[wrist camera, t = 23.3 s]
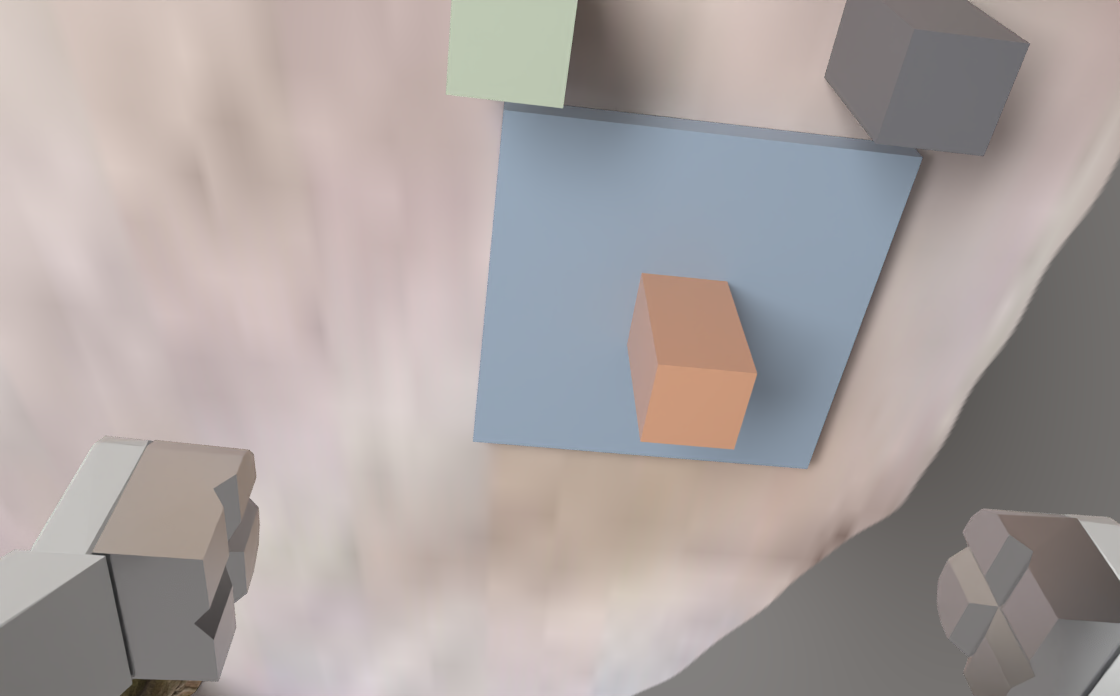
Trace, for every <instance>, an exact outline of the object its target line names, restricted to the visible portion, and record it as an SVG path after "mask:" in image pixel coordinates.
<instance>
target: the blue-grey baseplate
mask: <svg viewBox="0 0 1120 696" xmlns="http://www.w3.org/2000/svg"><path fill="white" fill-rule="evenodd" d="M922 158H923V157H922V156H921V155H920V154H919V152H918V151H917V150H916V149H915V148H909V147H900V146H891V145H883V144H875V142H874V141H871V140H863V139H854V138H845V137H836V136H828V135H819V134H810V133H801V132H793V131H784V130H775V129H766V128H758V127H749V126H740V125H731V124H723V123H714V122H705V121H696V120H688V119H679V118H670V117H661V116H653V115H644V114H635V113H626V112H618V111H609V110H600V109H591V108H583V107H574V106H565V105H563V108H555V107H547V106H539V105H530V104H522V103H513V102H505V101H504V112H503V123H502V134H501V145H500V156H499V166H498V177H497V188H496V199H495V210H494V220H493V231H492V242H491V253H490V264H489V274H488V285H487V296H486V307H485V318H484V329H483V339H482V350H481V361H480V372H479V383H478V393H477V404H476V415H475V426H474V437H473V442H485V443H497V444H509V445H522V446H534V447H546V448H558V449H570V450H583V451H595V452H607V453H619V454H631V455H644V456H656V457H668V458H680V459H692V460H705V461H717V462H729V463H741V464H753V465H766V466H778V467H790V468H802V469H807V468H808V465H809V463H810V460H811V457H812V455H813V452H814V449H815V446H816V444H817V441H818V438H819V436H820V433H821V430H822V428H823V425H824V422H825V420H826V417H827V414H828V411H829V409H830V406H831V403H832V401H833V398H834V395H835V393H836V390H837V387H838V384H839V382H840V379H841V376H842V374H843V371H844V368H845V366H846V363H847V360H848V358H849V355H850V352H851V349H852V347H853V344H854V341H855V339H856V336H857V333H858V331H859V328H860V325H861V323H862V320H863V317H864V314H865V312H866V309H867V306H868V304H869V301H870V298H871V296H872V293H873V290H874V288H875V285H876V282H877V279H878V277H879V274H880V271H881V269H882V266H883V263H884V261H885V258H886V255H887V253H888V250H889V247H890V244H891V242H892V239H893V236H894V234H895V231H896V228H897V226H898V223H899V220H900V218H901V215H902V212H903V209H904V207H905V204H906V201H907V199H908V196H909V193H910V191H911V188H912V185H913V183H914V180H915V177H916V174H917V172H918V169H919V166H920V164H921V161H922ZM641 273H648V274H658V275H668V276H678V277H688V278H698V279H708V280H718V281H727V282H728V285H729V288H730V291H731V294H732V297H733V300H734V304H735V307H736V310H737V313H738V316H739V319H740V322H741V325H742V328H743V331H744V334H745V337H746V340H747V343H748V346H749V349H750V352H751V355H752V359H753V362H754V365H755V368H756V371H757V376H756V380H755V383H754V386H753V389H752V393H751V396H750V399H749V402H748V406H747V409H746V412H745V415H744V419H743V422H742V425H741V428H740V432H739V435H738V438H737V442H736V445H735V448H734V450H733V449H721V448H709V447H697V446H686V445H674V444H662V443H650V442H640V436H639V428H638V421H637V414H636V407H635V399H634V392H633V385H632V378H631V370H630V363H629V356H628V349H627V342H628V337H629V332H630V327H631V322H632V317H633V312H634V307H635V302H636V298H637V293H638V288H639V283H640V278H641Z"/></svg>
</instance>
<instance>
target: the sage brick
mask: <svg viewBox="0 0 1120 696" xmlns="http://www.w3.org/2000/svg"><path fill="white" fill-rule="evenodd" d="M577 2H578V0H452V3H451V19H450V36H449V52H448V69H447V85H446V95H455V96H463V97H471V98H480V99H488V100H497V101H505V102H513V103H522V104H530V105H539V106H547V107H555V108H563V105H564V98H565V90H566V83H567V76H568V68H569V61H570V54H571V46H572V39H573V31H574V24H575V17H576V9H577Z"/></svg>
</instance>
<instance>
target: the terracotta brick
mask: <svg viewBox="0 0 1120 696" xmlns="http://www.w3.org/2000/svg"><path fill="white" fill-rule="evenodd" d="M627 349H628V356H629V363H630V370H631V378H632V385H633V392H634V399H635V407H636V414H637V421H638V428H639V436H640V442H650V443H662V444H674V445H686V446H697V447H709V448H721V449H733V450H734V448H735V445H736V442H737V438H738V435H739V432H740V428H741V425H742V422H743V419H744V415H745V412H746V409H747V406H748V402H749V399H750V396H751V393H752V389H753V386H754V383H755V380H756V376H757V371H756V368H755V365H754V362H753V359H752V355H751V352H750V349H749V346H748V343H747V340H746V337H745V334H744V331H743V328H742V325H741V322H740V319H739V316H738V313H737V310H736V307H735V304H734V300H733V297H732V294H731V291H730V288H729V285H728V282H727V281H718V280H708V279H698V278H688V277H678V276H668V275H658V274H648V273H641V278H640V283H639V288H638V293H637V298H636V302H635V307H634V312H633V317H632V322H631V327H630V332H629V337H628V342H627Z"/></svg>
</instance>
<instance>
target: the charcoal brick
mask: <svg viewBox="0 0 1120 696" xmlns="http://www.w3.org/2000/svg"><path fill="white" fill-rule="evenodd" d="M1029 45H1030V43H1028V42H1027V41H1025V40H1024V39H1022V38H1021V37H1020V36H1018V35H1017V34H1015V33H1014V32H1012V31H1011V30H1009V29H1008V28H1006V27H1005V26H1003V25H1002V24H1001V23H999V22H998V21H996V20H995V19H993V18H992V17H990V16H989V15H987V14H986V13H985V12H983V11H982V10H980V9H979V8H977V7H976V6H974V5H973V4H971V3H970V2H968V1H967V0H847V1H846V5H845V8H844V11H843V15H842V18H841V22H840V25H839V29H838V32H837V35H836V39H835V42H834V46H833V49H832V53H831V56H830V59H829V63H828V66H827V70H826V73H825V76H824V77H825V79H826V80H827V81H828V83H829V84H830V85H831V87H832V88H833V89H834V90H835V92H836V93H837V94H838V96H839V97H840V98H841V99H842V101H843V102H844V103H845V105H846V106H847V107H848V109H849V110H850V111H851V112H852V114H853V115H854V116H855V118H856V119H857V120H858V122H859V123H860V124H861V125H862V127H863V128H864V129H865V131H866V132H867V133H868V134H869V136H870V137H871V138H872V140H873V141H874V142H875V144H883V145H891V146H900V147H909V148H917V149H926V150H935V151H943V152H952V153H961V154H970V155H978V156H984V154H985V152H986V149H987V147H988V144H989V142H990V139H991V137H992V135H993V132H994V130H995V127H996V125H997V122H998V120H999V118H1000V115H1001V113H1002V110H1003V108H1004V105H1005V103H1006V101H1007V98H1008V96H1009V93H1010V91H1011V88H1012V86H1013V84H1014V81H1015V79H1016V76H1017V74H1018V71H1019V69H1020V67H1021V64H1022V62H1023V59H1024V57H1025V54H1026V52H1027V50H1028V47H1029Z"/></svg>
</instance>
